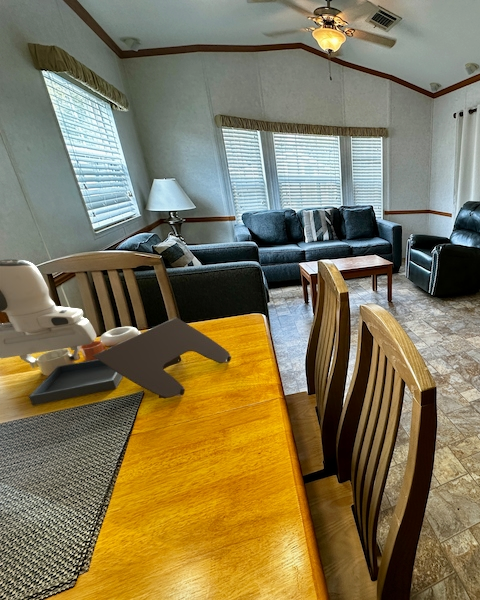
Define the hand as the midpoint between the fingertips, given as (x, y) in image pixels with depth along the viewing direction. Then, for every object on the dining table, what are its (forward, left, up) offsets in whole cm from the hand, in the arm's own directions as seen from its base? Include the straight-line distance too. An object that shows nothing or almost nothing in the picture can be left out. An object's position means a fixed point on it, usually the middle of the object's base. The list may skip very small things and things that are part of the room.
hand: (57, 363), depth 92 cm
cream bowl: (0, 0, -2) cm, 2 cm away
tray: (+10, -11, -2) cm, 15 cm away
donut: (+11, +13, -2) cm, 17 cm away
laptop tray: (+32, -17, -2) cm, 36 cm away
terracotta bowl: (+7, +4, -2) cm, 8 cm away
